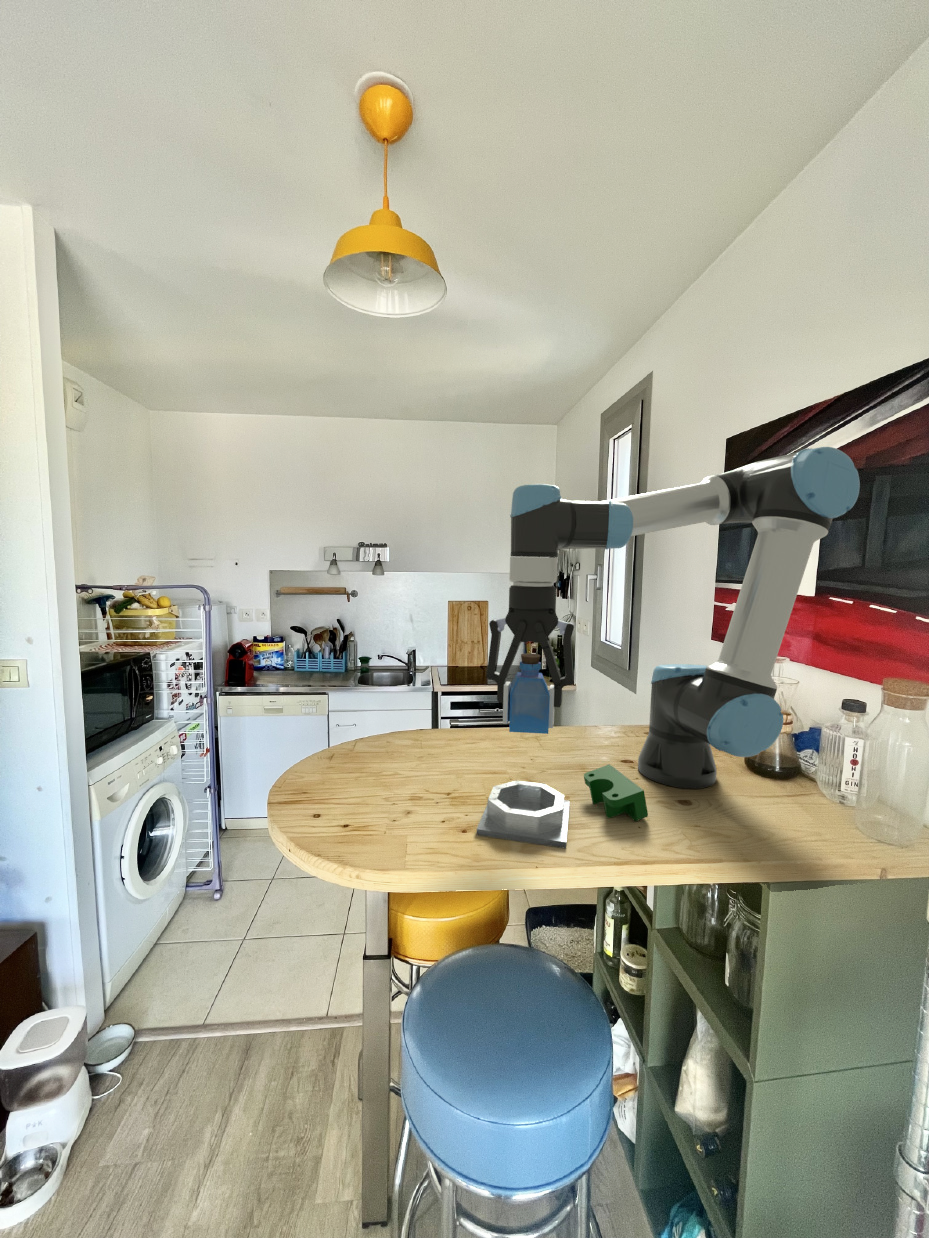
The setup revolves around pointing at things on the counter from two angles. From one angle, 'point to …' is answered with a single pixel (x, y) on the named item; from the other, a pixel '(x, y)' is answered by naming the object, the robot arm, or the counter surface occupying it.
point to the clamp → (616, 793)
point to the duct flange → (526, 814)
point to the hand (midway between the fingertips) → (528, 723)
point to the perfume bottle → (529, 698)
